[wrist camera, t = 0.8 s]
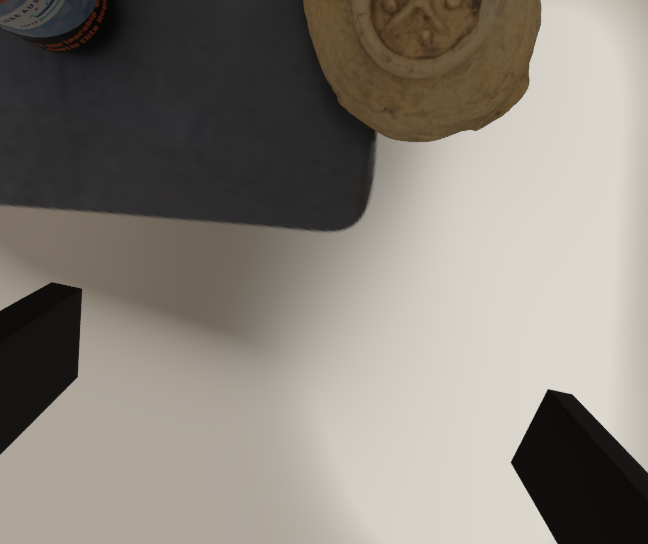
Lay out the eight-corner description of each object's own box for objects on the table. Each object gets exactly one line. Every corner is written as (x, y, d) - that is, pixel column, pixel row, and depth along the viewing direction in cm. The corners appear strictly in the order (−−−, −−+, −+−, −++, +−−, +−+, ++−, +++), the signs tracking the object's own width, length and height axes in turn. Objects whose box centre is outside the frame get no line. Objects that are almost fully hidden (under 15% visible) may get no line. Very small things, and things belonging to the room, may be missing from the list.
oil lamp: (216, -117, 17) (266, -21, 25) (387, 185, 19) (384, 187, 27) (445, -319, 15) (423, -145, 23) (620, 44, 16) (543, 91, 24)
